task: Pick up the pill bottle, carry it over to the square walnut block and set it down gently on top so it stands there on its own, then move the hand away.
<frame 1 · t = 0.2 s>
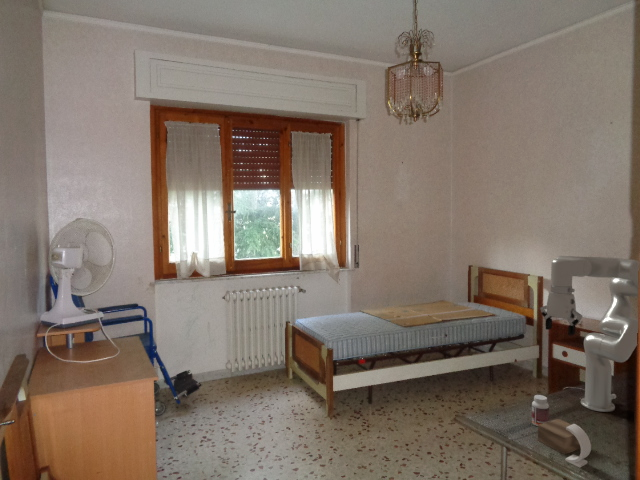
hand: (559, 331, 189), 36 cm above the table, tool pointing down, fingers open, 9 cm apart
walnut block: (561, 443, 172), on the table
headphone stand: (577, 463, 160), on the table
pill bottle: (540, 424, 187), on the table
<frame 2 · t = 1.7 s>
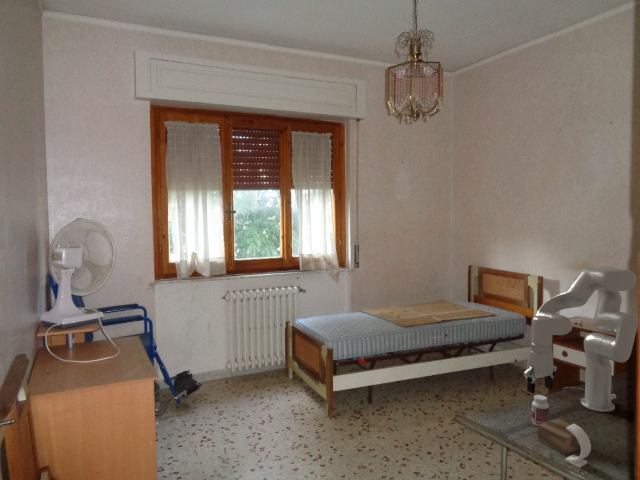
hand: (539, 390, 186), 14 cm above the table, tool pointing down, fingers open, 9 cm apart
nothing on the table moved.
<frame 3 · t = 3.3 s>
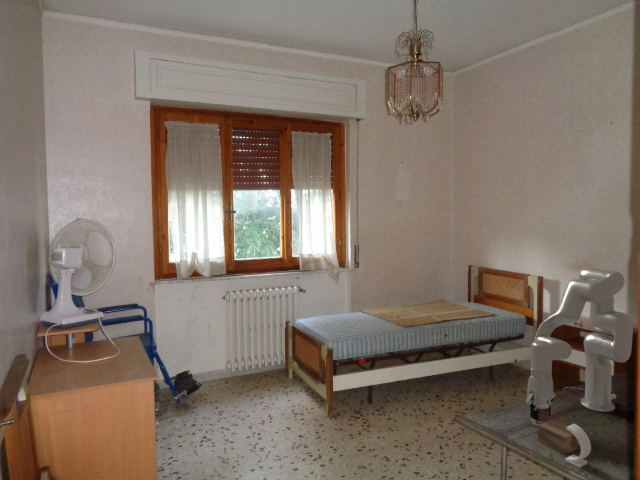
hand: (540, 416, 187), 3 cm above the table, tool pointing down, fingers closed on pill bottle, 6 cm apart
pill bottle: (540, 424, 187), on the table, touching gripper
everything else where it was.
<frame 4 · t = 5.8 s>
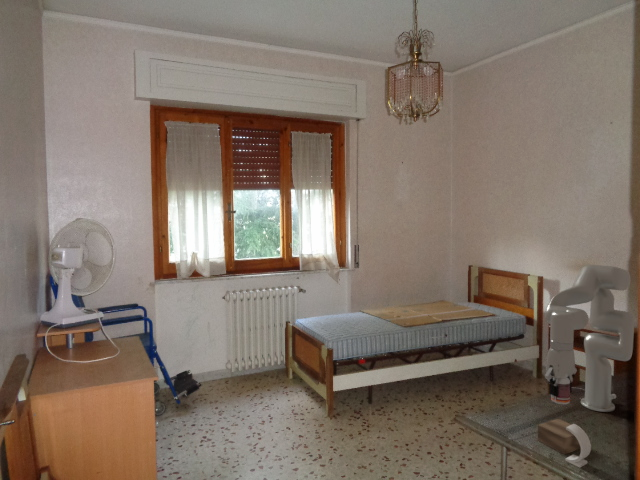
hand: (560, 393, 172), 19 cm above the table, tool pointing down, fingers closed on pill bottle, 6 cm apart
pill bottle: (560, 401, 172), point 15 cm above the table, touching gripper
everything else where it was.
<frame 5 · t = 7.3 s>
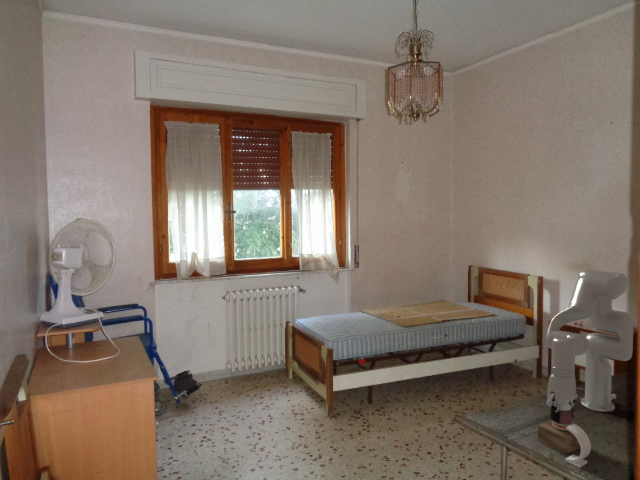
hand: (561, 418, 171), 9 cm above the table, tool pointing down, fingers closed on pill bottle, 6 cm apart
pill bottle: (561, 427, 172), point 6 cm above the table, touching gripper
everything else where it was.
when the fingers open (9 cm above the table, at t = 8.5 s): pill bottle stays where it is, resting on walnut block.
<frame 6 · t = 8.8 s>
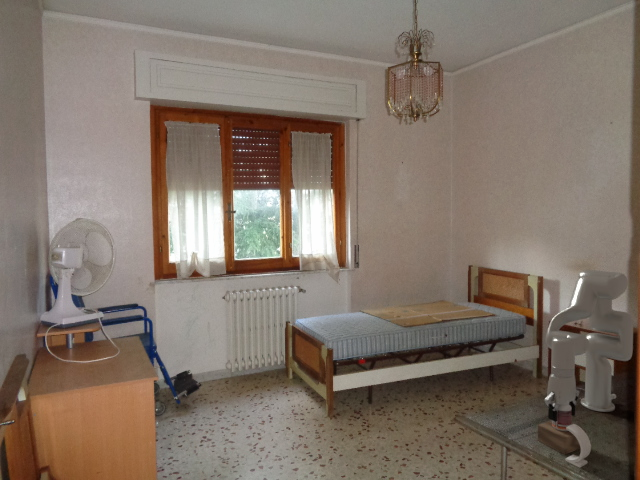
hand: (561, 417, 171), 10 cm above the table, tool pointing down, fingers open, 9 cm apart
pill bottle: (561, 428, 172), point 6 cm above the table, touching walnut block
everything else where it was.
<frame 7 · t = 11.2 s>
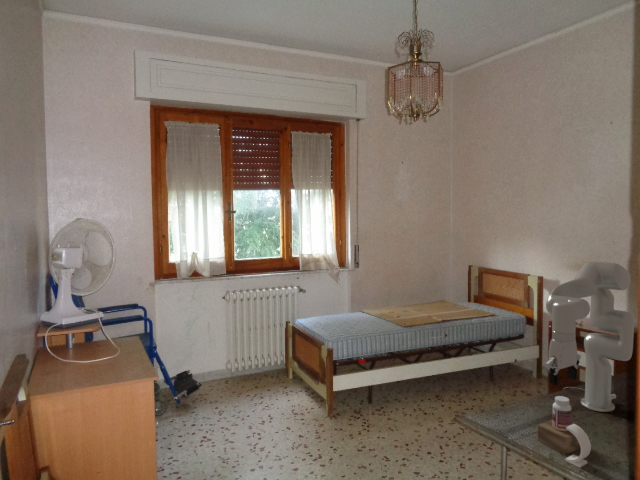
hand: (563, 381, 171), 23 cm above the table, tool pointing down, fingers open, 9 cm apart
nothing on the table moved.
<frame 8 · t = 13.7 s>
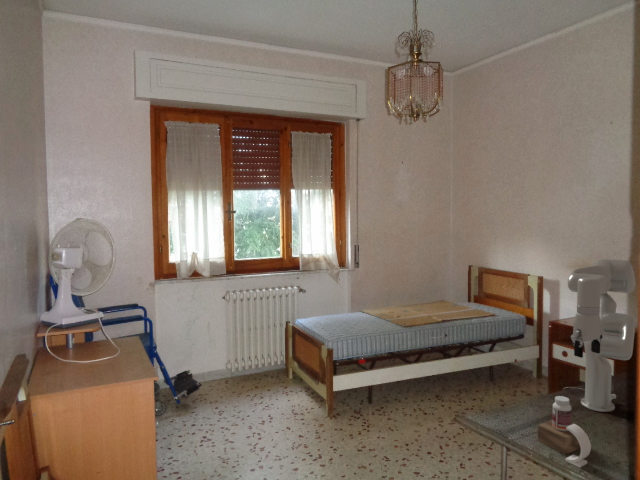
hand: (587, 354, 178), 30 cm above the table, tool pointing down, fingers open, 9 cm apart
nothing on the table moved.
at the end: pill bottle inside the target area on the walnut block (0.2 cm from its centre), point 5.8 cm above the walnut block's base; pill bottle tilted 0°; the gripper is holding nothing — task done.
